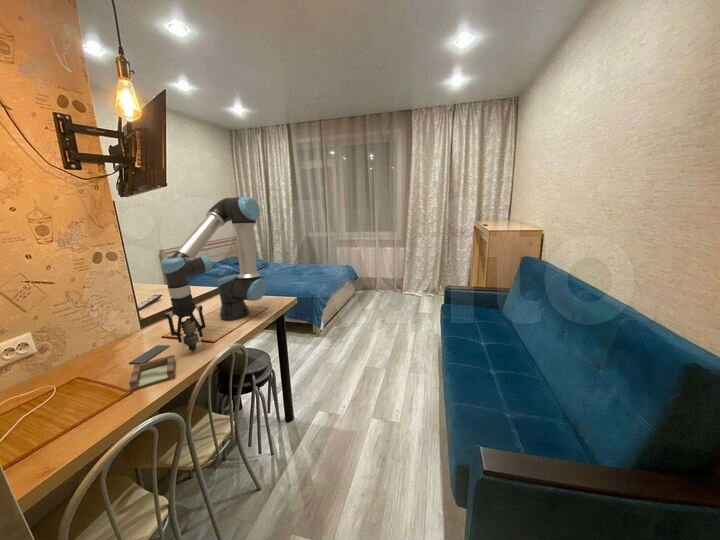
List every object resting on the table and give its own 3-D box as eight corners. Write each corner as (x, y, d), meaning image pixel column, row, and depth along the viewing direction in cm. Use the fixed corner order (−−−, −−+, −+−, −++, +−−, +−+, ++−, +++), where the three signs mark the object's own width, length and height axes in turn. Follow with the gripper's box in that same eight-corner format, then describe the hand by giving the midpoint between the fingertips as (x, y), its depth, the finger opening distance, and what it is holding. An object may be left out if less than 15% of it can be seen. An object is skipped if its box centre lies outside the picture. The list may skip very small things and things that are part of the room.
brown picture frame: (175, 378, 107) (173, 369, 106) (131, 391, 101) (129, 382, 100) (175, 362, 118) (173, 354, 117) (136, 373, 112) (134, 365, 111)
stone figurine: (199, 346, 129) (192, 315, 125) (203, 350, 125) (196, 318, 121) (185, 351, 125) (178, 319, 121) (188, 355, 121) (181, 322, 118)
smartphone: (170, 345, 132) (142, 363, 118) (170, 347, 132) (143, 365, 118) (157, 345, 133) (127, 362, 119) (157, 346, 133) (128, 364, 119)
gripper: (205, 288, 126) (215, 336, 132) (154, 298, 117) (168, 349, 123) (206, 292, 120) (216, 343, 126) (153, 303, 111) (167, 357, 117)
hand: (192, 346), depth 125 cm, fingers closed on stone figurine, 5 cm apart
